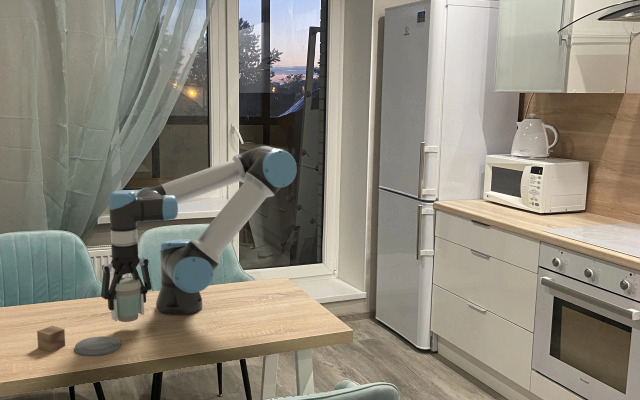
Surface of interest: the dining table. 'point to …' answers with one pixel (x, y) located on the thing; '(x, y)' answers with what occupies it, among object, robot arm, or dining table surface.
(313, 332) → the dining table surface
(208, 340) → the dining table surface
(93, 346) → the saucer
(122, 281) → the coffee cup
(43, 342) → the walnut block
